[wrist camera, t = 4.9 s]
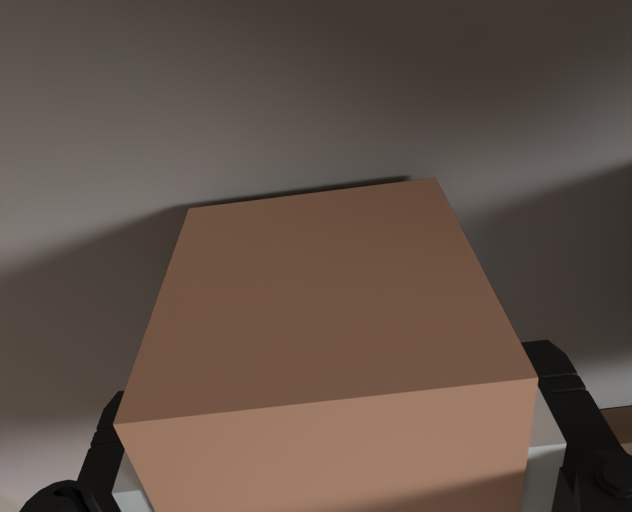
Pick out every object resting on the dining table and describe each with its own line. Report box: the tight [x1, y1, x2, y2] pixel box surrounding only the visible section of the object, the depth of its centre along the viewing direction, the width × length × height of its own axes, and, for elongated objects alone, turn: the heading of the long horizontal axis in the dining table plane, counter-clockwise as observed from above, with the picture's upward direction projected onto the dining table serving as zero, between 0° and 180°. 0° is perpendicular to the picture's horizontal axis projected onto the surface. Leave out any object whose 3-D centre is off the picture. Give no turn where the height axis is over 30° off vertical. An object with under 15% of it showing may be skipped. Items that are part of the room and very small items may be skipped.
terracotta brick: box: [113, 178, 538, 512], centre depth 13 cm, size 6×6×7 cm
